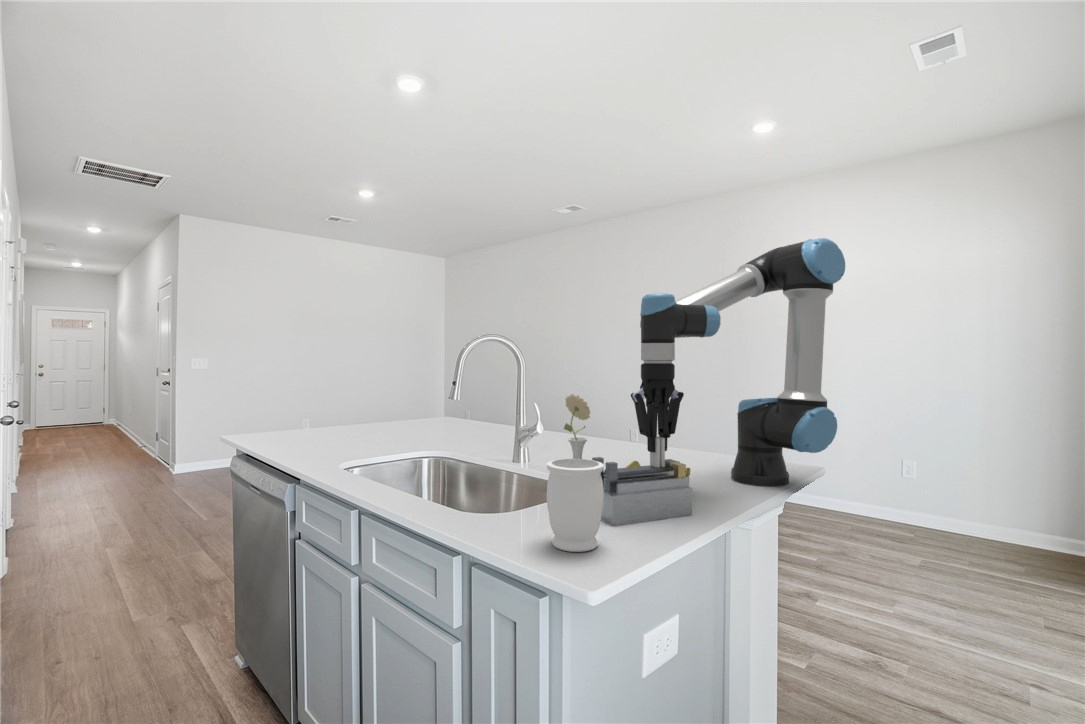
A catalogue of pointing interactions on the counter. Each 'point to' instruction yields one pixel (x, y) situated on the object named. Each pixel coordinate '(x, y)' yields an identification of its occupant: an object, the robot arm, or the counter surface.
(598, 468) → the jar
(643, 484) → the heatsink block
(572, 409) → the flower in vase
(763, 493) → the counter surface
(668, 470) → the dark grey flat bar
